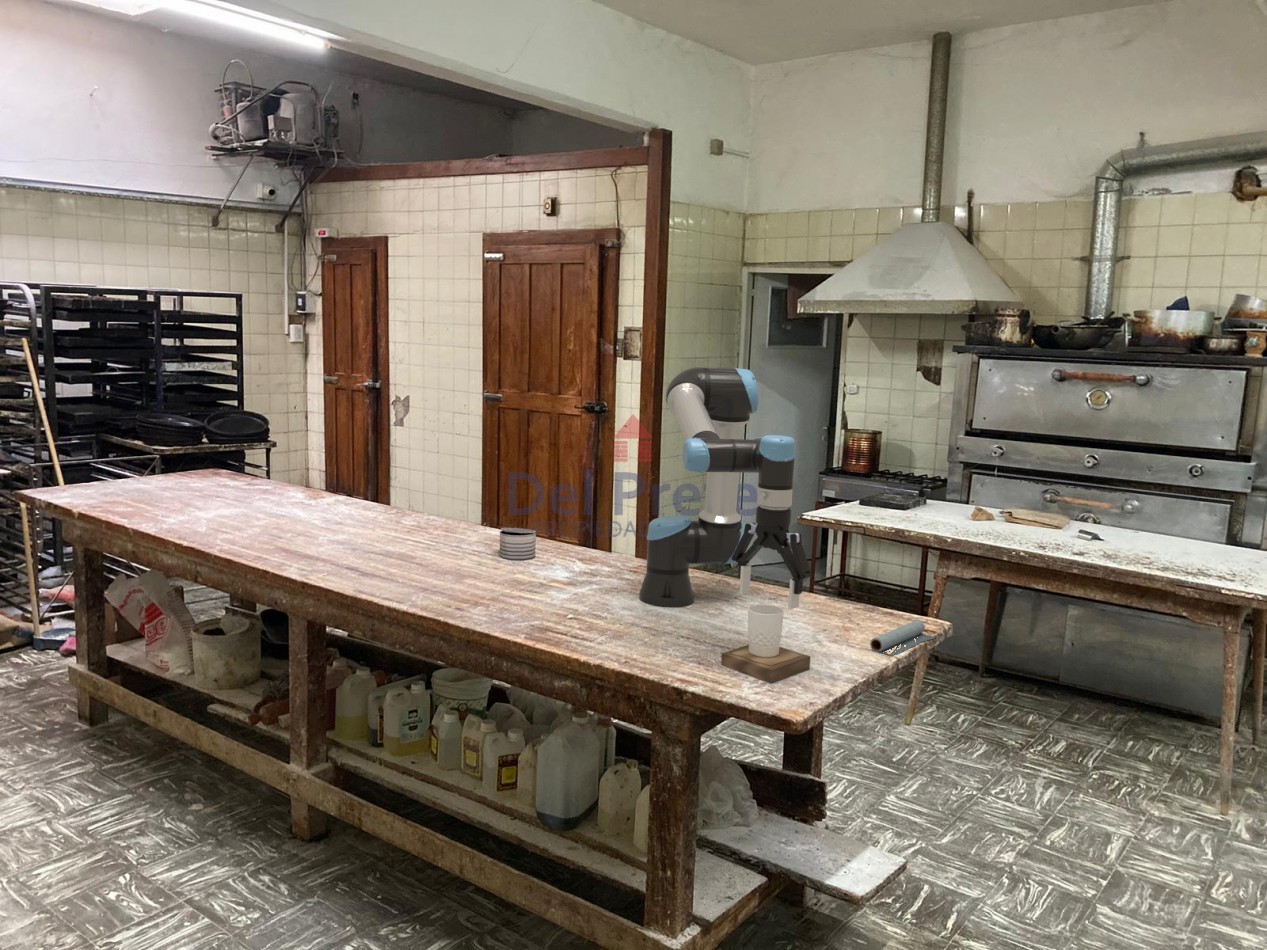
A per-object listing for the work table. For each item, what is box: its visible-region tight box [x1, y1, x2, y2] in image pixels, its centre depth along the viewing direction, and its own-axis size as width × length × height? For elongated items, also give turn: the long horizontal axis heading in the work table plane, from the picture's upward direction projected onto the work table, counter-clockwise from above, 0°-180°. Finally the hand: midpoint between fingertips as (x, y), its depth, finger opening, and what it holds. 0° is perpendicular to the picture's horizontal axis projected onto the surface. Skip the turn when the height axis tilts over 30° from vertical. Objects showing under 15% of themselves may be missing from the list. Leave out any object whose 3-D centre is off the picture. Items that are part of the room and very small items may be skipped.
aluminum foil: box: [869, 619, 936, 657], centre depth 233 cm, size 23×7×3 cm, turn 138°
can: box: [498, 527, 537, 562], centre depth 298 cm, size 11×11×12 cm
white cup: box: [747, 604, 785, 657], centre depth 211 cm, size 8×8×10 cm
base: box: [720, 644, 811, 684], centre depth 211 cm, size 14×14×3 cm
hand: (768, 600), depth 209 cm, fingers open, 13 cm apart
